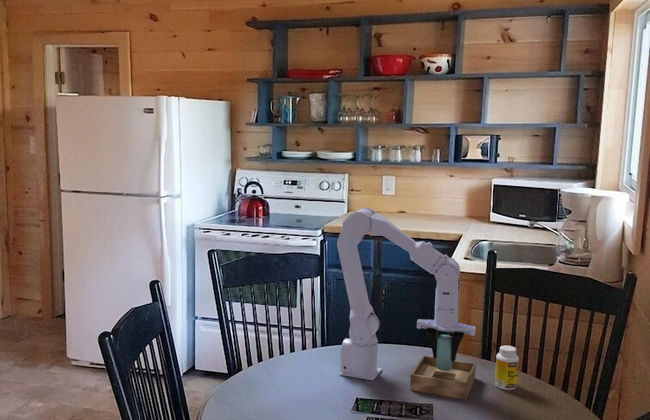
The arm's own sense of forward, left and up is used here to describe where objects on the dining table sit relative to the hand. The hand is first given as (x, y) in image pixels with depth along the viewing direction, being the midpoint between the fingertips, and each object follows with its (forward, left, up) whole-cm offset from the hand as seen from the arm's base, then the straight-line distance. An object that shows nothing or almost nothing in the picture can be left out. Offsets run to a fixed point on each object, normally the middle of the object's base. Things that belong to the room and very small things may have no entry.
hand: (444, 358), depth 152 cm
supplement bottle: (+15, +5, -7) cm, 17 cm away
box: (0, 0, -7) cm, 7 cm away
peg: (0, 0, -2) cm, 2 cm away
